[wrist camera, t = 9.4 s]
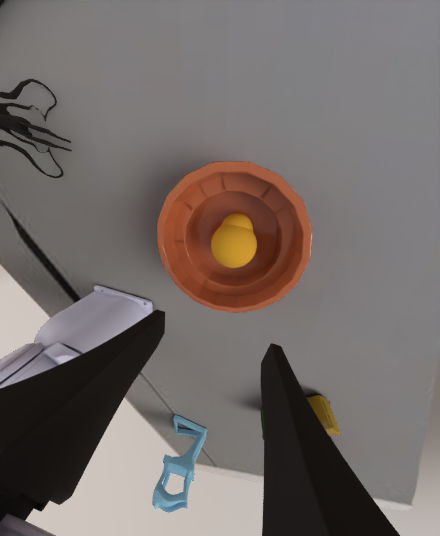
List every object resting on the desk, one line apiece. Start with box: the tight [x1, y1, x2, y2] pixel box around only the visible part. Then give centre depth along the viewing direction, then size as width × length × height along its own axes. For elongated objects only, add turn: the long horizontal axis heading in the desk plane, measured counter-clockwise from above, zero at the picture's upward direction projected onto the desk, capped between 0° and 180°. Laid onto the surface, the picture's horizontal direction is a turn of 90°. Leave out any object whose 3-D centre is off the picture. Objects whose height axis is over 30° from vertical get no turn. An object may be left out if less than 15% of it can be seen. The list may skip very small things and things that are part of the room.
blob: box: [211, 213, 257, 268], centre depth 14 cm, size 4×5×4 cm
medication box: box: [261, 395, 341, 439], centre depth 25 cm, size 12×3×4 cm, turn 139°
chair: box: [152, 415, 207, 512], centre depth 34 cm, size 8×8×12 cm
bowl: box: [157, 161, 312, 313], centre depth 15 cm, size 12×13×5 cm
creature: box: [0, 79, 72, 178], centre depth 14 cm, size 8×5×8 cm
